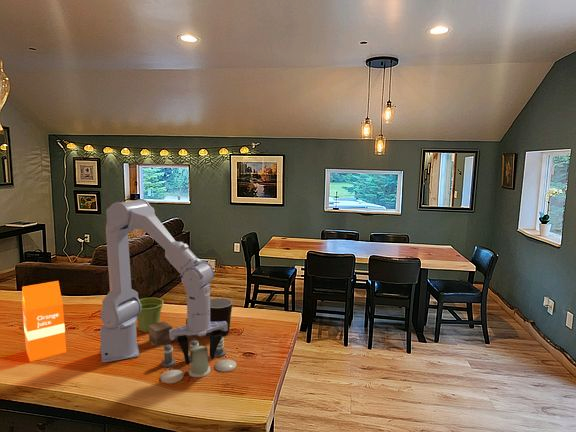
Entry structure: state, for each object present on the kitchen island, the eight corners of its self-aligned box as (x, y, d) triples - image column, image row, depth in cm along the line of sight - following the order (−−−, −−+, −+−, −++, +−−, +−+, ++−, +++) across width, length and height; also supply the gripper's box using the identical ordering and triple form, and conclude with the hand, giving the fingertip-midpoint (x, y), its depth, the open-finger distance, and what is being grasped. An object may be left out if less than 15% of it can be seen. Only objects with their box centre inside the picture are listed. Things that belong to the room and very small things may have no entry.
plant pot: (167, 322, 132) (167, 297, 130) (159, 335, 123) (158, 308, 121) (139, 322, 132) (138, 297, 130) (129, 334, 122) (127, 308, 121)
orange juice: (25, 350, 111) (19, 283, 108) (61, 341, 117) (56, 277, 114) (29, 362, 105) (23, 290, 102) (66, 352, 111) (61, 284, 108)
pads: (161, 385, 96) (161, 383, 96) (159, 373, 101) (159, 372, 101) (238, 369, 104) (238, 367, 104) (233, 359, 109) (233, 357, 109)
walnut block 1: (156, 347, 115) (156, 331, 114) (149, 341, 119) (148, 325, 118) (172, 341, 118) (171, 326, 118) (164, 336, 122) (164, 321, 121)
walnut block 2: (188, 339, 120) (188, 324, 119) (186, 333, 124) (185, 318, 124) (205, 337, 122) (205, 322, 121) (201, 330, 126) (201, 315, 126)
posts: (162, 368, 104) (161, 350, 103) (160, 361, 107) (160, 344, 106) (227, 355, 111) (227, 339, 110) (224, 349, 114) (223, 333, 113)
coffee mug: (226, 340, 120) (226, 309, 118) (200, 337, 122) (200, 306, 120) (239, 324, 131) (239, 296, 130) (214, 321, 133) (214, 293, 131)
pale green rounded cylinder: (193, 376, 100) (192, 355, 99) (189, 367, 104) (188, 348, 103) (210, 371, 102) (209, 352, 101) (205, 363, 106) (205, 344, 105)
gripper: (171, 320, 93) (172, 373, 96) (230, 312, 99) (230, 362, 101) (167, 310, 100) (169, 359, 102) (223, 302, 106) (223, 349, 108)
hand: (199, 360), depth 102 cm, fingers open, 6 cm apart
